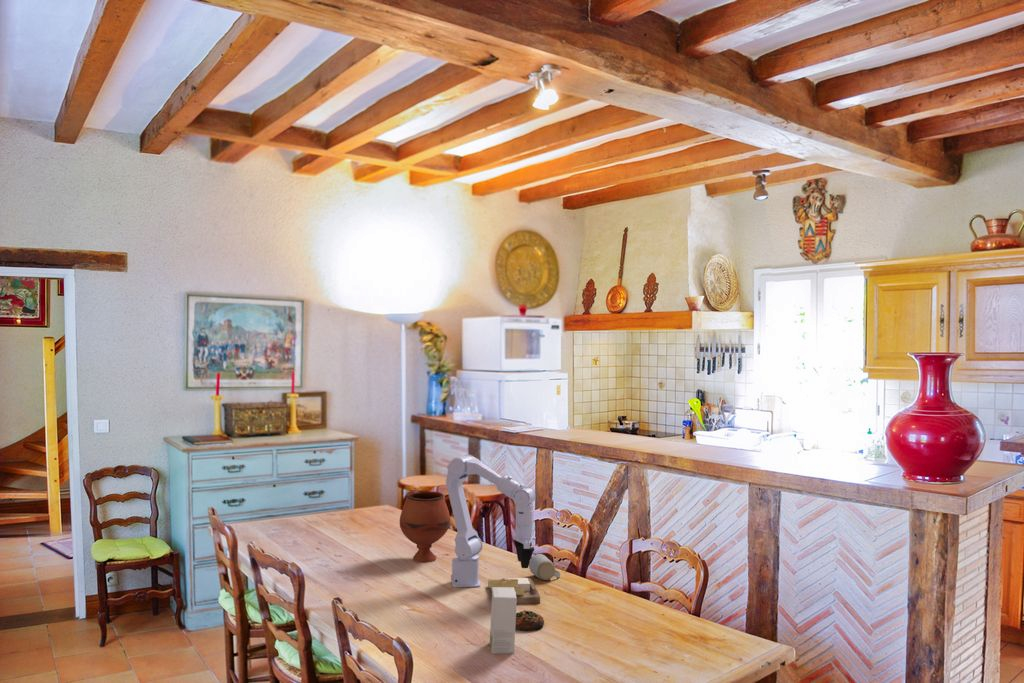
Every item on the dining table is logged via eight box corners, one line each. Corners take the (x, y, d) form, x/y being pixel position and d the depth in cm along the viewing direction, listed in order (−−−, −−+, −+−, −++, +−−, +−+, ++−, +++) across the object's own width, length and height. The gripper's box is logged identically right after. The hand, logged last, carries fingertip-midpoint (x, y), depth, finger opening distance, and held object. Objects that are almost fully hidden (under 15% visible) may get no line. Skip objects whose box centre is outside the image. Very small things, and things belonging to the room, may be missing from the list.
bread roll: (533, 634, 219) (531, 616, 220) (501, 631, 225) (499, 614, 226) (552, 624, 229) (550, 607, 229) (520, 621, 234) (519, 605, 235)
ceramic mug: (537, 582, 267) (538, 560, 267) (528, 575, 275) (529, 554, 275) (564, 579, 271) (565, 558, 271) (554, 573, 279) (555, 552, 279)
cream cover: (508, 591, 251) (509, 583, 251) (506, 585, 256) (507, 578, 256) (529, 591, 251) (530, 583, 251) (527, 585, 257) (527, 578, 257)
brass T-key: (488, 595, 245) (488, 581, 245) (487, 594, 247) (488, 579, 247) (524, 595, 246) (524, 580, 246) (523, 593, 248) (524, 579, 248)
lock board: (493, 604, 244) (494, 593, 244) (488, 586, 262) (489, 576, 262) (540, 603, 246) (540, 592, 246) (531, 585, 264) (532, 575, 264)
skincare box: (489, 642, 213) (491, 586, 213) (513, 642, 213) (514, 586, 214) (491, 654, 205) (492, 596, 205) (515, 654, 205) (517, 596, 205)
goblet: (389, 562, 287) (390, 496, 287) (414, 550, 304) (415, 488, 304) (434, 569, 279) (436, 501, 279) (457, 556, 297) (459, 492, 297)
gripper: (539, 529, 249) (538, 570, 249) (532, 518, 263) (531, 558, 263) (518, 529, 248) (517, 571, 248) (512, 519, 262) (511, 558, 262)
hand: (523, 564), depth 255 cm, fingers open, 7 cm apart
